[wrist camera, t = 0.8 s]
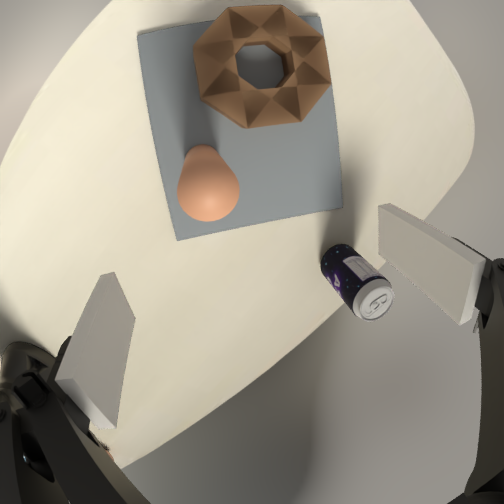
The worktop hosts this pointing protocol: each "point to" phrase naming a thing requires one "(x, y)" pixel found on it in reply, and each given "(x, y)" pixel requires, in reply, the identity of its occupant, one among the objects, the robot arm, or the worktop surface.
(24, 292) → the worktop surface
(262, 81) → the mat
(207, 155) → the tan round-topped peg
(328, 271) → the beverage can
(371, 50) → the worktop surface
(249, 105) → the bead
